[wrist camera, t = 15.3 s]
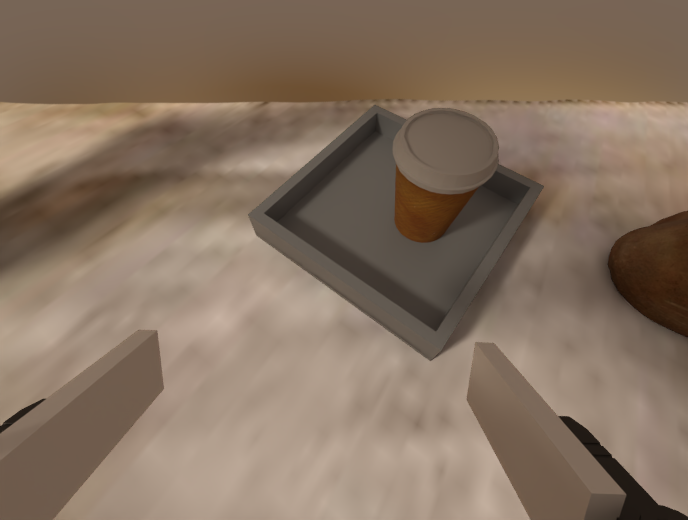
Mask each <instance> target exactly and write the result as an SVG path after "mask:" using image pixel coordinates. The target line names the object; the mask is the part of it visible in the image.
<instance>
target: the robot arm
mask: <svg viewBox="0 0 688 520" xmlns="http://www.w3.org/2000/svg"><path fill="white" fill-rule="evenodd" d="M163 389H164V385H163V376H162V368H161V359H160V350H159V342H158V333H157V331H155V330H138V331H136V332H135V333H134V334H132V335H131V336H130V337H128V338H127V339H126V340H124V341H123V342H122V343H120V344H119V345H118V346H116V347H115V348H114V349H112V350H111V351H110V352H108V353H107V354H106V355H104V356H103V357H102V358H100V359H99V360H98V361H96V362H95V363H94V364H92V365H91V366H90V367H88V368H87V369H86V370H84V371H83V372H82V373H80V374H79V375H78V376H76V377H75V378H74V379H72V380H71V381H70V382H68V383H67V384H66V385H64V386H63V387H62V388H60V389H59V390H58V391H56V392H55V393H54V394H52V395H51V396H50V397H48V398H47V399H42V400H40V401H38V402H36V403H34V404H32V405H30V406H28V407H26V408H24V409H22V410H20V411H19V412H17V413H16V414H15V415H13V416H12V417H11V418H9V419H8V420H6V421H5V422H4V423H3V425H2V426H0V520H53V519H54V518H55V516H56V515H57V514H58V513H59V512H60V511H61V509H62V508H63V507H64V506H65V505H66V503H67V502H68V501H69V500H70V499H71V498H72V496H73V495H74V494H75V493H76V492H77V491H78V489H79V488H80V487H81V486H82V485H83V483H84V482H85V481H86V480H87V479H88V478H89V476H90V475H91V474H92V473H93V472H94V470H95V469H96V468H97V467H98V466H99V465H100V463H101V462H102V461H103V460H104V459H105V458H106V456H107V455H108V454H109V453H110V452H111V450H112V449H113V448H114V447H115V446H116V445H117V443H118V442H119V441H120V440H121V439H122V438H123V436H124V435H125V434H126V433H127V432H128V430H129V429H130V428H131V427H132V426H133V425H134V423H135V422H136V421H137V420H138V419H139V417H140V416H141V415H142V414H143V413H144V412H145V410H146V409H147V408H148V407H149V406H150V405H151V403H152V402H153V401H154V400H155V399H156V397H157V396H158V395H159V394H160V393H161V392H162V390H163ZM467 401H468V403H469V405H470V407H471V409H472V411H473V413H474V415H475V416H476V418H477V420H478V422H479V424H480V426H481V428H482V429H483V431H484V433H485V435H486V437H487V439H488V441H489V443H490V444H491V446H492V448H493V450H494V452H495V454H496V456H497V458H498V459H499V461H500V463H501V465H502V467H503V469H504V471H505V473H506V474H507V476H508V478H509V480H510V482H511V484H512V486H513V488H514V489H515V491H516V493H517V495H518V497H519V499H520V501H521V503H522V504H523V506H524V508H525V510H526V512H527V514H528V516H529V517H530V519H531V520H688V517H687V516H686V515H684V514H682V513H680V512H679V511H676V510H673V509H671V508H668V507H665V506H661V505H658V504H657V503H656V502H655V501H654V500H653V499H652V497H651V496H650V495H649V494H648V493H647V492H646V491H645V490H644V489H643V488H642V487H641V486H640V485H639V484H638V483H637V482H636V481H635V479H634V478H633V477H632V476H631V475H630V474H629V473H628V472H627V471H626V470H625V469H624V468H623V467H622V466H621V465H620V464H619V463H618V461H617V460H616V459H615V458H612V455H611V454H610V453H609V452H608V451H607V450H606V449H605V448H604V447H603V446H601V445H600V442H599V441H598V440H597V439H596V438H595V437H594V436H593V435H592V434H591V433H590V432H589V431H588V430H587V429H586V428H585V427H583V426H582V425H580V424H579V423H578V422H576V421H575V420H573V419H572V418H570V417H568V416H557V415H556V413H555V412H554V411H553V410H552V409H551V408H550V407H549V405H548V404H547V403H546V402H545V401H544V400H543V399H542V397H541V396H540V395H539V394H538V393H537V392H536V391H535V389H534V388H533V387H532V386H531V385H530V384H529V383H528V381H527V380H526V379H525V378H524V377H523V376H522V375H521V373H520V372H519V371H518V370H517V369H516V368H515V367H514V365H513V364H512V363H511V362H510V361H509V360H508V359H507V357H506V356H505V355H504V354H503V353H502V352H501V351H500V349H499V348H498V347H497V346H496V345H495V344H494V343H481V342H475V348H474V354H473V361H472V367H471V374H470V380H469V387H468V394H467Z"/></svg>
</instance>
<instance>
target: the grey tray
mask: <svg viewBox="0 0 688 520" xmlns="http://www.w3.org/2000/svg"><path fill="white" fill-rule="evenodd" d="M406 121H407V120H406V119H404V118H401V117H399V116H397V115H395V114H393V113H391V112H389V111H387V110H385V109H383V108H381V107H379V106H376V105H374V106H373V107H372V108H371V109H369V110H368V111H367V112H366V113H365V114H364V115H362V116H361V117H360V118H359V119H358V120H357V121H356V122H354V123H353V124H352V125H351V126H350V127H349V128H347V129H346V130H345V131H344V132H343V133H342V134H341V135H339V136H338V137H337V138H336V139H335V140H334V141H332V142H331V143H330V144H329V145H328V146H327V147H326V148H324V149H323V150H322V151H321V152H320V153H319V154H317V155H316V156H315V157H314V158H313V159H312V160H311V161H309V162H308V163H307V164H306V165H305V166H304V167H302V168H301V169H300V170H299V171H298V172H297V173H296V174H294V175H293V176H292V177H291V178H290V179H289V180H287V181H286V182H285V183H284V184H283V185H282V186H281V187H279V188H278V189H277V190H276V191H275V192H274V193H272V194H271V195H270V196H269V197H268V198H267V199H266V200H264V201H263V202H262V203H261V204H260V205H259V206H257V207H256V208H255V209H254V210H253V211H252V212H251V213H249V214H248V216H249V218H250V221H251V223H252V226H253V228H254V231H255V233H256V235H257V236H258V237H260V238H261V239H262V240H264V241H265V242H266V243H268V244H269V245H271V246H272V247H273V248H275V249H276V250H278V251H279V252H280V253H282V254H283V255H284V256H286V257H287V258H289V259H290V260H291V261H293V262H294V263H296V264H297V265H298V266H300V267H301V268H302V269H304V270H305V271H307V272H308V273H309V274H311V275H312V276H314V277H315V278H316V279H318V280H319V281H320V282H322V283H323V284H325V285H326V286H327V287H329V288H330V289H331V290H333V291H334V292H336V293H337V294H338V295H340V296H341V297H343V298H344V299H345V300H347V301H348V302H349V303H351V304H352V305H354V306H355V307H356V308H358V309H359V310H361V311H362V312H363V313H365V314H366V315H367V316H369V317H370V318H372V319H373V320H374V321H376V322H377V323H379V324H380V325H381V326H383V327H384V328H385V329H387V330H388V331H390V332H391V333H392V334H394V335H395V336H397V337H398V338H399V339H401V340H402V341H403V342H405V343H406V344H408V345H409V346H410V347H412V348H413V349H415V350H416V351H417V352H419V353H420V354H421V355H423V356H424V357H426V358H427V359H428V360H430V361H431V360H432V359H433V358H434V357H435V356H436V355H437V354H438V353H439V352H440V351H441V350H442V349H443V347H444V345H445V344H446V342H447V341H448V339H449V337H450V336H451V334H452V333H453V331H454V329H455V328H456V326H457V325H458V323H459V321H460V320H461V318H462V317H463V315H464V313H465V312H466V310H467V309H468V307H469V305H470V304H471V302H472V301H473V299H474V298H475V296H476V294H477V293H478V291H479V290H480V288H481V286H482V285H483V283H484V282H485V280H486V278H487V277H488V275H489V274H490V272H491V270H492V269H493V267H494V266H495V264H496V262H497V261H498V259H499V258H500V256H501V254H502V253H503V251H504V250H505V248H506V247H507V245H508V243H509V242H510V240H511V239H512V237H513V235H514V234H515V232H516V231H517V229H518V227H519V226H520V224H521V223H522V221H523V219H524V218H525V216H526V215H527V213H528V211H529V210H530V208H531V207H532V205H533V203H534V202H535V200H536V199H537V197H538V195H539V194H540V192H541V191H542V189H543V188H544V186H543V185H541V184H539V183H537V182H534V181H532V180H530V179H528V178H526V177H524V176H522V175H520V174H518V173H516V172H514V171H512V170H510V169H507V168H505V167H503V166H501V165H499V164H498V166H497V169H496V171H495V172H494V174H493V176H492V177H491V178H490V179H489V180H487V181H486V182H485V183H484V184H483V185H481V186H479V188H478V189H477V190H476V192H475V193H474V194H473V196H472V197H471V198H470V200H469V201H468V202H467V204H466V205H465V206H464V208H463V209H462V210H461V212H460V213H459V214H458V216H457V217H456V218H455V220H454V221H453V222H452V224H451V225H450V226H449V228H448V229H447V230H446V232H445V233H444V234H443V235H442V237H440V238H439V239H437V240H435V241H433V242H428V243H421V242H415V241H412V240H410V239H408V238H406V237H405V236H403V235H402V234H401V233H400V232H399V230H398V229H397V227H396V225H395V221H394V217H395V181H396V180H395V177H396V162H395V159H394V156H393V141H394V138H395V136H396V134H397V133H398V131H399V130H400V129H401V128H402V126H403V125H404V123H405V122H406Z"/></svg>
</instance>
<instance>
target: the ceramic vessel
mask: <svg viewBox="0 0 688 520" xmlns="http://www.w3.org/2000/svg"><path fill="white" fill-rule="evenodd" d="M608 266H609V269H610V272H611V277H612V281H613V282H614V284H615V286H616V288H617V290H618V291H619V292H620V293H621V295H622V296H623V297H624V298H625V299H626V300H627V301H628V302H629V303H630V304H631V305H632V306H633V307H635V308H636V309H637V310H638V311H639V312H641V313H642V314H643V315H645V316H646V317H647V318H649V319H650V320H652V321H654V322H656V323H658V324H660V325H662V326H664V327H666V328H668V329H670V330H672V331H674V332H676V333H679V334H681V335H683V336H686V337H688V211H685V212H681V213H678V214H675V215H673V216H670V217H667V218H665V219H662V220H660V221H658V222H656V223H655V224H653V225H651V226H648V227H643V228H639V229H636V230H633V231H631V232H629V233H627V234H625V235H624V236H622V237H621V238H620V239H618V240H617V241H616V242H615V244H614V246H613V247H612V249H611V252H610V255H609V261H608Z"/></svg>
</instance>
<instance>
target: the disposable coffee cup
mask: <svg viewBox="0 0 688 520" xmlns="http://www.w3.org/2000/svg"><path fill="white" fill-rule="evenodd" d="M498 149H499V145H498V141H497V137H496V135H495V133H494V132H493V130H492V129H491V128H490V127H489V126H488V125H487V124H486V123H485V122H483V121H482V120H480V119H479V118H477V117H476V116H474V115H472V114H469V113H467V112H464V111H460V110H456V109H450V108H433V109H428V110H424V111H421V112H419V113H416V114H414V115H413V116H411V117H410V118H409V119H408V120H407V121H406V122H405V123H404V125H403V126H402V128H401V129H400V130H399V131H398V133H397V134H396V136H395V138H394V141H393V156H394V159H395V162H396V177H395V180H396V181H395V217H394V221H395V225H396V227H397V229H398V230H399V232H400V233H401V234H402V235H403V236H405V237H406V238H408V239H410V240H412V241H415V242H421V243H428V242H433V241H435V240H437V239H439V238H440V237H442V235H443V234H444V233H445V232H446V230H447V229H448V228H449V226H450V225H451V224H452V222H453V221H454V220H455V218H456V217H457V216H458V214H459V213H460V212H461V210H462V209H463V208H464V206H465V205H466V204H467V202H468V201H469V200H470V198H471V197H472V196H473V194H474V193H475V192H476V190H477V189H478V188H479V186H481V185H483V184H484V183H485V182H486V181H487V180H489V179H490V178H491V177H492V176H493V174H494V172H495V171H496V169H497V166H498V162H499V160H498Z"/></svg>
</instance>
